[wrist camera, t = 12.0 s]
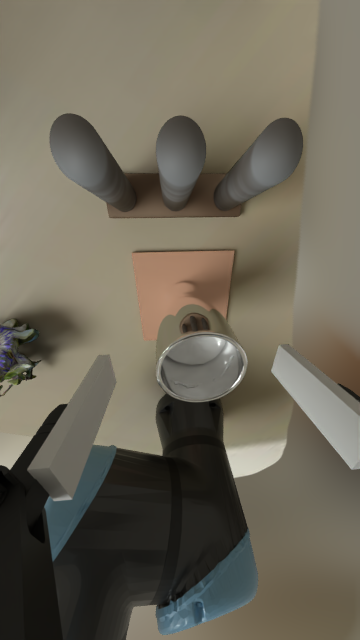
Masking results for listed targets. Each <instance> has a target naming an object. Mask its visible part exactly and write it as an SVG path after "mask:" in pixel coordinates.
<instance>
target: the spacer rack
mask: <svg viewBox="0 0 360 640" xmlns="http://www.w3.org/2000/svg"><path fill="white" fill-rule="evenodd" d="M50 148H51V152H52V155H53V158H54V160H55V162H56V164H57V165H58V167H59V169H60V170H61V171H62V172H63V173H64V174H65V175H66V176H67V177H68V178H69V179H71V180H72V181H74V182H75V183H77V184H78V185H80V186H82V187H83V188H85V189H86V190H88V191H89V192H91V193H93V194H94V195H96V196H97V197H99V198H100V199H102V200H104V201H105V202H106V203H107V209H108V214H109V217H110V218H176V217H238V216H240V212H241V204H242V203H243V202H245V201H247V200H249V199H251V198H252V197H254V196H256V195H258V194H260V193H262V192H264V191H266V190H267V189H269V188H271V187H273V186H275V185H277V184H279V183H281V182H282V181H284V180H286V179H287V178H288V177H289V176H290V175H291V174H292V173H293V171H294V170H295V168H296V167H297V165H298V163H299V160H300V158H301V154H302V149H303V136H302V132H301V129H300V127H299V126H298V124H297V123H296V122H295V121H294V120H292V119H289V118H280V119H277V120H275V121H273V122H272V123H270V124H269V125H268V126H267V127H266V128H265V129H264V131H263V132H262V133H261V134H260V135H259V137H258V138H257V139H256V140H255V141H254V142H253V144H252V145H251V146H250V147H249V148H248V150H247V151H246V152H245V153H244V154H243V155H242V157H241V158H240V159H239V160H238V161H237V162H236V164H235V165H234V166H233V167H232V168H231V170H230V171H229V172H228V173H227V174H200V173H201V171H202V168H203V166H204V163H205V158H206V143H205V139H204V135H203V133H202V131H201V129H200V127H199V126H198V125H197V123H196V122H195V121H193V120H192V119H190V118H188V117H186V116H175V117H173V118H171V119H169V120H168V121H167V122H166V123H165V124H164V125H163V126H162V128H161V130H160V132H159V134H158V138H157V143H156V156H157V163H158V170H159V174H153V173H123V171H122V170H121V168H120V167H119V165H118V163H117V162H116V160H115V159H114V157H113V156H112V154H111V153H110V151H109V150H108V148H107V147H106V145H105V144H104V142H103V141H102V139H101V138H100V136H99V135H98V133H97V132H96V130H95V129H94V127H93V126H92V125H91V124H90V123H89V122H88V121H87V120H85V119H84V118H82V117H81V116H78V115H76V114H63V115H61V116H59V117H58V118H57V119H56V120H55V121H54V123H53V125H52V127H51V131H50Z"/></svg>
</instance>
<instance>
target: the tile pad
mask: <svg viewBox="0 0 360 640" xmlns="http://www.w3.org/2000/svg"><path fill="white" fill-rule="evenodd" d="M132 258H133V265H134V272H135V279H136V287H137V294H138V301H139V308H140V315H141V322H142V329H143V336H144V340H157V332H158V327H159V323H160V321H161V318H162V316H163V314H164V312H165V310H166V308H165V304H164V299H165V295H166V293H167V291H168V290H169V289H170V288H171V287H172V286H173V285H175V284H177V283H180V282H189V283H192V284H194V285H196V286H197V287H198V288H199V289H200V290H201V292H202V294H203V297H204V300H206V301H207V302H209V303H210V304H212V305H213V306H214V307H215V308H216V309H217V310H218V311H219V312H220V313H221V314H222V315H223V317H224V318H225V319H226V314H227V306H228V298H229V290H230V282H231V274H232V266H233V258H234V250H226V251H180V252H133V253H132Z"/></svg>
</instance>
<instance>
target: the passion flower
mask: <svg viewBox="0 0 360 640" xmlns="http://www.w3.org/2000/svg"><path fill="white" fill-rule="evenodd" d="M38 336H39V331H38V330H36V329H30V330H29V325H28V323H25V324H24V325H22V326H20V327H19V325H18V322H17V320H16V319H11V320H8V321H7V322H5V323H4V324H3V325H1V324H0V382H2V381H4V380H5V379H11V378H12V379H13V380H10V381H8V383H10V384H11V385H10V386H9V388H8V389H7V390H6V391H5V392H4V393H3V395H5V393H6V392H7V391H8V390H9V389H10V388H11V387H12V385H18V384H20V383H21V381H22V380H27V379H28V380H29V379H33V378H35V377H36V376H34V375H32V370H33V368H34V367H35V366H36V365H37V364H38V363H39V362H40V361H41V360H40V361H37V362H33V361H31V360H30V359H28V357H26V356H25V355H22V354H20V353H19V352H18V350H17V349H18V347H19V346H20V345H22V344H24V343H27V342H32V341H33V340H36V339H37V338H38ZM24 372H26V373H27V374H26V375H24V374H23V373H24ZM2 387H3V386H2V385H1V386H0V390H1V389H2ZM3 395H0V397H1V396H3Z"/></svg>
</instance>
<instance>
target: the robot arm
mask: <svg viewBox="0 0 360 640" xmlns="http://www.w3.org/2000/svg"><path fill="white" fill-rule="evenodd" d="M271 372H272V373H273V374H274V376H275V377H276V378H277V379H278V380H279V382H280V383H281V384H282V385H283V387H284V388H285V389H286V390H287V391H288V393H289V394H290V395H291V396H292V397H293V399H294V400H295V401H296V402H297V403H298V405H299V406H300V407H301V408H302V410H303V411H304V412H305V413H306V414H307V416H308V417H309V418H310V419H311V421H312V422H313V423H314V424H315V425H316V426H317V428H318V429H319V430H320V431H321V433H322V434H323V435H324V436H325V438H326V439H327V440H328V441H329V442H330V444H331V445H332V446H333V447H334V448H335V450H336V451H337V452H338V453H339V455H340V456H341V457H342V458H343V459H344V461H345V462H346V463H347V464H348V465H349V467H350V468H351V469H360V397H359V396H358V395H356V394H355V393H354V392H353V391H351V390H350V389H348V388H346V387H344V386H343V385H341V384H336V383H335V382H334V381H333V380H331V379H330V378H329V377H328V376H327V375H325V374H324V373H323V372H322V371H321V370H319V369H318V368H317V367H316V366H314V365H313V364H312V363H311V362H309V361H308V360H307V359H306V358H305V357H303V356H302V355H301V354H300V353H298V352H297V351H296V350H295V349H294V348H292V347H291V346H290V345H289V344H284V345H279V347H278V350H277V353H276V357H275V360H274V363H273V367H272V370H271ZM115 384H116V378H115V374H114V371H113V367H112V363H111V359H110V355H99V356H98V357H97V359H96V360H95V362H94V364H93V365H92V367H91V368H90V370H89V372H88V373H87V375H86V376H85V378H84V380H83V381H82V383H81V384H80V386H79V388H78V389H77V391H76V392H75V394H74V396H73V397H72V399H71V400H70V402H69V403H68V404H61V405H59V406H58V407H56V408H55V409H54V410H53V411H52V412H51V413H50V414H49V415H48V417H47V418H46V420H45V421H44V422H43V424H42V426H41V427H40V428H39V430H38V431H37V432H36V435H34V437H33V438H32V440H31V441H30V443H29V444H28V445H27V447H26V448H25V450H24V451H23V453H22V454H21V456H20V457H19V458H18V460H17V461H16V462H15V464H14V465H13V467H12V468H11V470H9V469H8V468H7V467H5V466H2V465H1V466H0V640H126V635H127V630H128V626H129V621H130V616H131V613H132V609H133V607H135V606H146V605H157V606H156V618H157V623H158V630H159V632H160V633H161V634H162V635H168V634H172V633H176V632H179V631H183V630H185V629H188V628H191V627H194V626H196V625H198V624H201V623H204V622H206V621H210V620H213V619H215V618H217V617H220V616H222V615H224V614H227V613H229V612H231V611H234V610H236V609H238V608H240V607H242V606H244V605H246V604H247V603H249V602H250V601H251V600H252V599H253V598H254V597H255V595H256V592H257V586H258V573H257V568H256V563H255V559H254V555H253V550H252V546H251V542H250V538H249V537H250V533H249V529H248V527H247V524H246V520H245V517H244V513H243V510H242V506H241V503H240V499H239V496H238V492H237V489H236V485H235V482H234V478H233V475H232V471H231V468H230V464H229V461H228V457H227V454H226V450H225V446H224V442H223V408H222V405H221V402H220V399H219V398H218V399H215V400H212V401H207V402H197V403H196V402H185V401H181V400H178V399H176V398H174V397H172V396H170V395H169V394H166V395H165V396H163V397H162V398H161V399H160V401H159V402H158V404H157V408H156V424H157V428H158V432H159V436H160V440H161V444H162V448H163V456H160V455H154V454H149V453H143V452H137V451H132V450H126V449H120V448H116V446H114V445H111V446H109V447H108V446H99V445H93V443H94V440H95V438H96V435H97V432H98V430H99V427H100V424H101V422H102V419H103V416H104V414H105V411H106V408H107V406H108V403H109V400H110V398H111V395H112V392H113V390H114V387H115Z"/></svg>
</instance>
